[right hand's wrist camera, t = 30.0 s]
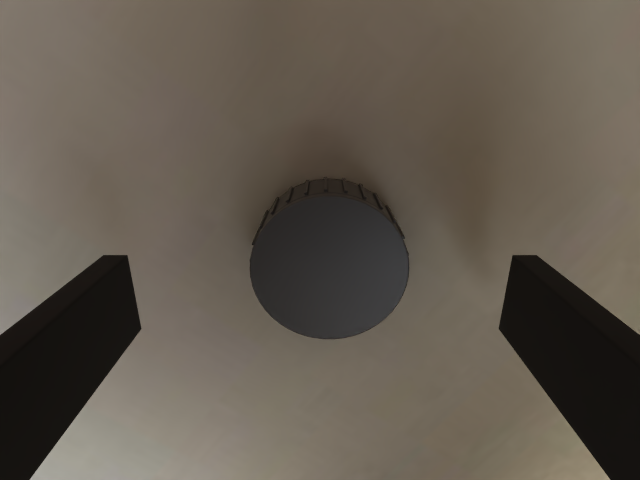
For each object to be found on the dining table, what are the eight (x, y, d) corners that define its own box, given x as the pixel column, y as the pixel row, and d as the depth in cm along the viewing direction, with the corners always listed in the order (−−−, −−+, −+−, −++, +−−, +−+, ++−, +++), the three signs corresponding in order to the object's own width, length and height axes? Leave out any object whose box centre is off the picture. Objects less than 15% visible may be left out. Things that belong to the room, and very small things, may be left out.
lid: (415, 191, 14) (432, 211, 12) (379, 316, 16) (387, 352, 14) (269, 163, 14) (259, 178, 12) (250, 294, 16) (238, 327, 14)
